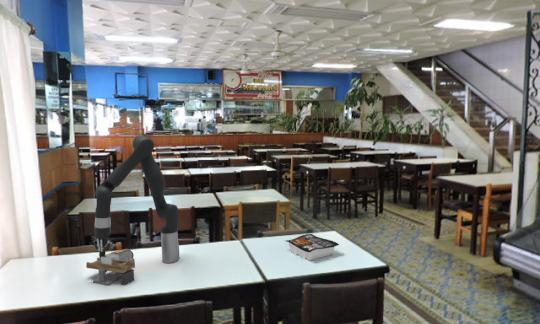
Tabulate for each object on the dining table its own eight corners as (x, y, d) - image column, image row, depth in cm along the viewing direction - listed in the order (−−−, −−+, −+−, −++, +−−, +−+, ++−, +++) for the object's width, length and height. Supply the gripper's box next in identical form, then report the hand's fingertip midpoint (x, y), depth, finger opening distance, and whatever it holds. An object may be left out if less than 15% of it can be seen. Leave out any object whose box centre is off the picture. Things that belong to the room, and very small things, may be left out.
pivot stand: (114, 272, 205) (113, 259, 204) (140, 277, 198) (139, 264, 197) (93, 282, 192) (92, 269, 191) (119, 288, 185) (118, 274, 184)
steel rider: (109, 262, 198) (108, 253, 198) (119, 264, 195) (118, 254, 195) (101, 266, 194) (100, 256, 193) (112, 267, 191) (111, 258, 190)
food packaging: (283, 239, 233) (311, 233, 246) (283, 251, 234) (311, 244, 246) (309, 251, 212) (339, 243, 225) (309, 264, 213) (339, 255, 226)
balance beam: (99, 264, 204) (98, 254, 204) (135, 269, 194) (134, 258, 194) (86, 269, 197) (85, 259, 196) (123, 275, 187) (122, 264, 186)
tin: (132, 260, 221) (131, 246, 220) (134, 262, 219) (133, 248, 218) (106, 268, 210) (105, 253, 209) (108, 269, 208) (107, 254, 207)
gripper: (118, 225, 195) (117, 258, 197) (99, 221, 201) (98, 253, 203) (106, 229, 188) (105, 263, 190) (87, 224, 194) (86, 257, 196)
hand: (102, 258), depth 196 cm, fingers closed
